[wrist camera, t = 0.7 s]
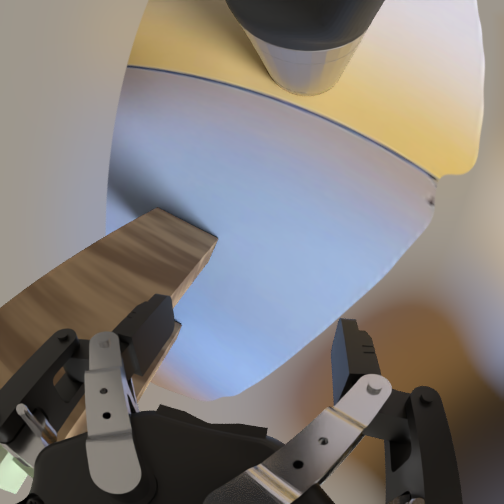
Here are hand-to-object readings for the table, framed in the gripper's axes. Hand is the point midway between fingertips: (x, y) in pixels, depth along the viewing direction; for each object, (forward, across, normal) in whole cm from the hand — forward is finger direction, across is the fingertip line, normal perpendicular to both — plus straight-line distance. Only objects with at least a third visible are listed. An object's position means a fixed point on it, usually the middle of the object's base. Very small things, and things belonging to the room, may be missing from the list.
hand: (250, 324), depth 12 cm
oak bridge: (+24, +18, +12) cm, 33 cm away
